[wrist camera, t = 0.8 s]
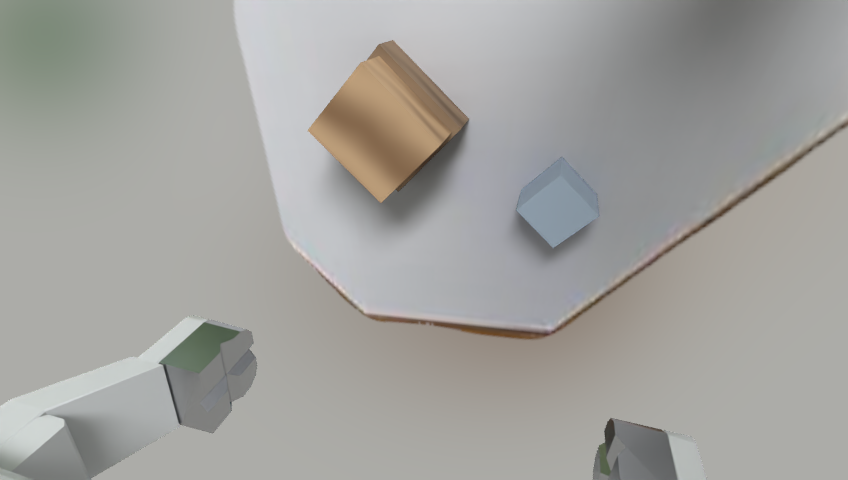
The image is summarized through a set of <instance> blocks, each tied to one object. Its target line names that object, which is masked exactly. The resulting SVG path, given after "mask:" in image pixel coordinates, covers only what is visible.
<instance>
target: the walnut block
mask: <svg viewBox="0 0 848 480" xmlns="http://www.w3.org/2000/svg"><path fill="white" fill-rule="evenodd" d="M378 56H380V57H381V58H382V59H383V61H384V62H385V63H386V64H387V65H388V66H389V67H390V68H391V69H392V70H393V71H394V72H395V73H396V74H397V75H398V76H399V77H400V78H401V80H402V81H403V82H404V83H405V84H406V85H407V86H408V87H409V88H410V89H411V90H412V91H413V92H414V93H415V94H416V95H417V96H418V97H419V99H420V100H421V101H422V102H423V103H424V104H425V105H426V106H427V107H428V108H429V109H430V110H431V111H432V112H433V113H434V114H435V115H436V116H437V118H438V119H439V120H440V121H441V122H442V123H443V124H444V125H445V126H446V127H447V128H448V129H449V130H450V131H451V132H452V133H451V134H450V135H449V136H448V137H447V138H446V139H445V141H444V142H443V143H442V144H441V145H440V146H439V147H438V148H437V149H436V150H435V151H434V152H433V153H432V154H431V155H430V156H429V157H428V158H427V159H426V160H425V161H424V162H423V163H422V164H421V165H420V166H419V167H418V168H417V169H416V170H415V171H414V172H412V173H411V174H410V175H409V176H408V177H407V178H406V179H405V180H404V181H403V182H402V183H401V184H400V185H399V186H398V187H397V188H396V190H397V191H399V190H400V189H401V188H402V187H403V186H404V185H406V184H407V183H408V182H409V181H410V180H411V179H412V178H413V177H414V176H415V175H416V174H417V173H418V172H419V171H420V170H421V169H422V168H423V167H424V166H425V165H426V164H427V163H428V162H429V161H430V160H431V159H432V158H433V157H434V156H435V155H436V154H437V153H438V152H439V151H440V150H441V149H442V148H443V147H444V146H445V145H446V144H447V143H448V142H449V141H450V140H451V139H452V138H453V137H454V136H455V135H456V134H457V133H458V132H459V131H460V130H461V129H462V127H463V126H464V125H465V123H466V122H467V121H468V120H469V118H468V117H467V116H466V115H465V114H464V113H463V112H462V111H461V110H460V109H459V108H458V107H457V106H456V105H455V104H454V103H453V102H452V101H451V100H450V99H449V98H448V97H447V96H446V95H445V94H444V93H443V92H442V91H441V89H440V88H439V87H438V86H437V85H436V84H435V83H434V82H433V81H432V80H431V79H430V78H429V77H428V76H427V75H426V74H425V73H424V72H423V71H422V70H421V69H420V68H419V67H418V66H417V65H416V64H415V63H414V62H413V61H412V59H411V58H410V57H409V56H408V55H407V54H406V53H405V52H404V51H403V50H402V49H401V48H400V47H399V46H398V45H397V44H396V43H395V42H394V41H393V40H392V41H389V42H385V43H382V44H379V45H378V46H377V47H376V49H375V50H374V51H373V53H372V54H371V55H370V57H369V58H368V59H367V60H369V59H372V58H375V57H378Z"/></svg>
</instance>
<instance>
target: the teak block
mask: <svg viewBox="0 0 848 480" xmlns="http://www.w3.org/2000/svg"><path fill="white" fill-rule="evenodd" d="M308 131H309V132H310V133H311V134H312V135H313V136H314V137H315V138H316V139H317V140H318V141H319V142H320V143H321V144H322V145H323V146H324V147H325V148H326V149H327V150H328V151H329V152H330V153H331V154H332V155H333V156H334V157H335V158H336V159H337V160H338V161H339V162H340V163H341V164H342V165H343V166H344V167H345V168H346V169H347V170H348V171H349V172H350V173H351V174H352V175H353V176H354V177H355V178H356V179H357V180H358V181H359V182H360V183H361V184H362V185H363V186H364V187H365V188H366V189H367V190H368V191H369V192H370V193H371V194H372V195H373V196H374V197H375V198H376V199H377V200H378V201H379V202H380V203H382V202H383V201H384V200H385V199H386V198H387V197H388V196H389V195H390V194H391V193H392V192H393V191H394V190H395V189H396V188H397V187H398V186H399V185H400V184H401V183H402V182H403V181H404V180H405V179H406V178H407V177H408V176H409V175H410V174H411V173H412V172H414V171H415V170H416V169H417V168H418V167H419V166H420V165H421V164H422V163H423V162H424V161H425V160H426V159H427V158H428V157H429V156H430V155H431V154H432V153H433V152H434V151H435V150H436V149H437V148H438V147H439V146H440V145H441V144H442V143H443V142H444V141H445V139H446V138H447V137H448V136H449V135H450V134H451V133H452V132H451V131H450V130H449V129H448V128H447V127H446V126H445V125H444V124H443V123H442V122H441V121H440V120H439V119H438V118H437V116H436V115H435V114H434V113H433V112H432V111H431V110H430V109H429V108H428V107H427V106H426V105H425V104H424V103H423V102H422V101H421V100H420V99H419V97H418V96H417V95H416V94H415V93H414V92H413V91H412V90H411V89H410V88H409V87H408V86H407V85H406V84H405V83H404V82H403V81H402V80H401V78H400V77H399V76H398V75H397V74H396V73H395V72H394V71H393V70H392V69H391V68H390V67H389V66H388V65H387V64H386V63H385V62H384V61H383V59H382V58H381V57H380V56H378V57H375V58H372V59H369V60H367V61H364V62H361V63H360V64H359V66H358V67H357V68H356V70H355V71H354V72H353V73H352V75H351V76H350V77H349V78H348V80H347V81H346V82H345V84H344V85H343V86H342V87H341V89H340V90H339V91H338V92H337V94H336V95H335V96H334V98H333V99H332V100H331V101H330V103H329V104H328V105H327V106H326V108H325V109H324V110H323V112H322V113H321V114H320V115H319V117H318V118H317V119H316V120H315V122H314V123H313V124H312V126H311V127H310V128H309V129H308Z"/></svg>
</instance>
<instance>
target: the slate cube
mask: <svg viewBox="0 0 848 480" xmlns="http://www.w3.org/2000/svg"><path fill="white" fill-rule="evenodd" d="M516 211H517V212H518V213H519V214H520V215H521V216H522V217H523V218H524V219H525V220H526V221H527V222H528V223H529V224H530V225H531V226H532V227H533V228H534V229H535V230H536V231H537V232H538V233H539V234H540V235H541V236H542V237H543V238H544V239H545V240H546V241H547V242H548V243H549V244H550V245H551V246H552V248H554V247H556V246H557V245H559V244H560V243H561V242H563V241H564V240H566V239H567V238H569V237H570V236H572V235H573V234H574V233H576V232H577V231H579V230H580V229H582V228H583V227H585V226H586V225H587V224H589V223H590V222H592V221H593V220H595V219H596V218H598V217H599V208H598V198H597V194H596V193H595V192H594V191H593V190H592V188H591V187H590V186H589V185H588V184H587V183H586V182H585V181H584V180H583V179H582V178H581V177H580V176H579V175H578V173H577V172H576V171H575V170H574V169H573V168H572V167H571V166H570V165H569V164H568V163H567V162H566V161H565V160H564V158H563V157H561V158H560V159H559V160H557V161H556V162H555V163H554V164H553V165H551V166H550V167H549V168H548V169H546V170H545V171H544V172H543V173H541V174H540V175H539V176H538V177H537V178H535V179H534V180H533V181H532V182H530V183H529V184H528V185H527V186H525V187H524V188H523V189H522V190H521V193H520V197H519V201H518V204H517V208H516Z"/></svg>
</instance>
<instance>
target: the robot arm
mask: <svg viewBox="0 0 848 480" xmlns="http://www.w3.org/2000/svg"><path fill="white" fill-rule="evenodd" d="M252 344H253V337H252V332H251V331H249V330H247V329H243V328H240V327H236V326H232V325H229V324H225V323H221V322H218V321H214V320H209V319H205V318H202V317H198V316H194V315H193V316H189V317H186V318H185V319H184V320H183V321H181V322H180V323H179V324H178V325H177V326H175V327H174V328H173V329H172V330H171V331H169V332H168V333H167V334H166V335H165V336H163V337H162V338H161V339H160V340H159V341H157V342H156V343H155V344H154V345H153V346H151V347H150V348H149V349H148V350H147V351H145V352H144V353H143V354H142V355H141V356H139V357H138V358H136V357H129V358H127V359H124V360H121V361H118V362H115V363H112V364H109V365H107V366H104V367H101V368H98V369H95V370H92V371H90V372H87V373H84V374H81V375H78V376H76V377H73V378H70V379H67V380H64V381H61V382H59V383H56V384H53V385H50V386H47V387H44V388H42V389H39V390H36V391H33V392H30V393H28V394H25V395H22V396H19V397H16V398H14V399H11V400H9V401H7V402H6V403H5V404H3V405H2V406H0V480H91V478H92V477H94V476H96V475H98V474H99V473H101V472H103V471H104V470H106V469H108V468H109V467H111V466H113V465H115V464H117V463H118V462H120V461H122V460H123V459H125V458H127V457H129V456H130V455H132V454H134V453H135V452H137V451H139V450H141V449H142V448H144V447H146V446H147V445H149V444H151V443H153V442H154V441H156V440H158V439H159V438H161V437H163V436H164V435H166V434H168V433H170V432H171V431H173V430H175V429H177V428H178V427H179V426H180V425H184V426H187V427H191V428H195V429H198V430H202V431H206V432H210V433H214V431H215V430H216V429H217V428H218V427H219V425H220V424H221V423H222V422H223V421H224V419H225V418H226V417H227V416H228V414H229V413H230V412H231V411H232V410H231V409H232V408H231V406H232V401H234V400H236V399H239V398H240V397H243V396H244V395H245V393H246V392H247V391H248V390H249V388H250V387H251V385H252V382H253V380H254V378H255V376H256V369H257V362H256V357H255V356H254V354H253V353H252V352H251V351H250V349H249V348H250V347H251V346H252ZM179 424H180V425H179ZM604 432H605V443H603V444H601V445H599V447H598V450H597V454H596V457H595V463H594V469H593V480H707V478H706V475H705V471H704V468H703V465H702V461H701V458H700V454H699V451H698V448H697V444H696V442H695V440H694V439H693V438H692V437H691V436H687V435H682V434H678V433H674V432H670V431H665V430H664V431H663V430H661V429H656V428H652V427H648V426H643V425H639V424H635V423H631V422H627V421H622V420H618V419H614V418H610V420H609V421H608V422H607V425H606V428H605V431H604Z"/></svg>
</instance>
